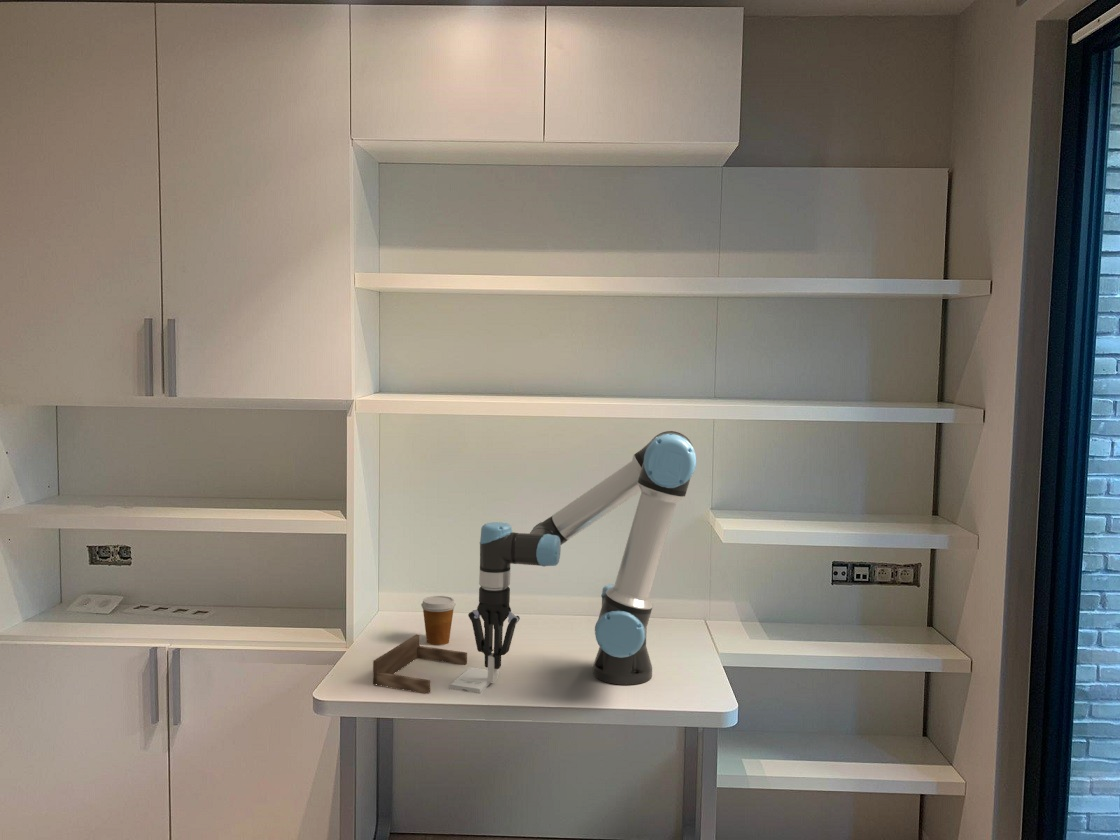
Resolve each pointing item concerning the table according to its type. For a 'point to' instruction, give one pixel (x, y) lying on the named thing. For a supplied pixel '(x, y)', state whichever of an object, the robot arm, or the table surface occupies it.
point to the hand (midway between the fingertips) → (492, 680)
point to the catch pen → (403, 656)
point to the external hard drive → (472, 680)
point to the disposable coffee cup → (438, 618)
